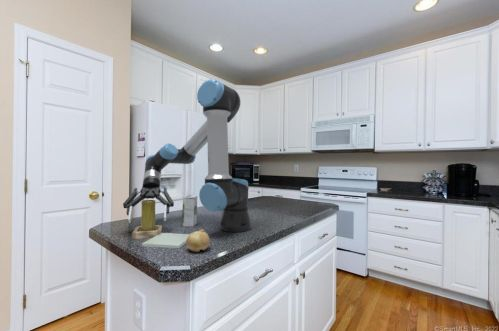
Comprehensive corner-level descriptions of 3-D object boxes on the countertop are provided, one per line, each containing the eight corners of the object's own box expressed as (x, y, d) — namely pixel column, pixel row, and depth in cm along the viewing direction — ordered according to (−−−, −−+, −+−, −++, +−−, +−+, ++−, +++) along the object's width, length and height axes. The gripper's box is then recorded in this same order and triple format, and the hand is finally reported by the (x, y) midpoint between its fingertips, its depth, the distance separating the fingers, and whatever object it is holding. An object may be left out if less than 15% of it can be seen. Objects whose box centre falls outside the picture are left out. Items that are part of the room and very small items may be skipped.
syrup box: (185, 223, 119) (185, 194, 119) (197, 224, 118) (197, 195, 119) (181, 226, 113) (182, 196, 113) (194, 226, 113) (194, 196, 113)
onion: (208, 254, 78) (208, 232, 78) (184, 254, 78) (184, 232, 78) (210, 246, 86) (211, 226, 86) (188, 246, 85) (188, 226, 86)
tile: (193, 236, 97) (193, 234, 97) (178, 248, 83) (178, 245, 83) (161, 235, 99) (161, 232, 99) (141, 246, 85) (141, 243, 85)
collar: (162, 230, 106) (162, 224, 106) (160, 237, 96) (160, 230, 96) (136, 232, 103) (136, 226, 103) (132, 239, 93) (132, 232, 93)
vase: (137, 236, 96) (137, 201, 97) (144, 232, 103) (145, 199, 103) (151, 236, 96) (152, 201, 96) (158, 232, 102) (158, 199, 102)
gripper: (179, 186, 118) (178, 223, 104) (123, 187, 111) (115, 227, 96) (179, 176, 113) (179, 213, 99) (121, 176, 106) (111, 216, 91)
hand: (147, 220), depth 97 cm, fingers open, 13 cm apart
